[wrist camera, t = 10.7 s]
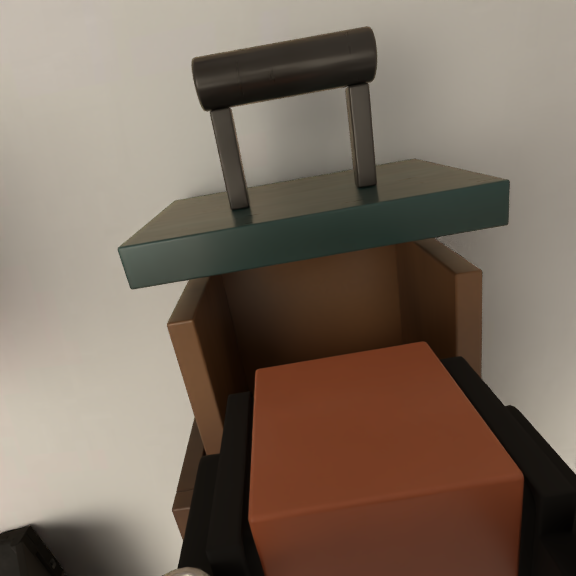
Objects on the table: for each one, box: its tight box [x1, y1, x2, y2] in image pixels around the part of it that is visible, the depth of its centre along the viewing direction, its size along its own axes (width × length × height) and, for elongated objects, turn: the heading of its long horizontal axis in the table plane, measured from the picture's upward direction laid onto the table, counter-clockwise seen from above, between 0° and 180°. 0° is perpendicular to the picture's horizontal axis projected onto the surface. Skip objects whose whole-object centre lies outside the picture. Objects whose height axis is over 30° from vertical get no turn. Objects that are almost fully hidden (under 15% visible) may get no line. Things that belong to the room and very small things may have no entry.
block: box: [248, 341, 524, 576], centre depth 8 cm, size 4×4×4 cm
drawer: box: [118, 26, 510, 455], centre depth 15 cm, size 17×10×7 cm, turn 9°
